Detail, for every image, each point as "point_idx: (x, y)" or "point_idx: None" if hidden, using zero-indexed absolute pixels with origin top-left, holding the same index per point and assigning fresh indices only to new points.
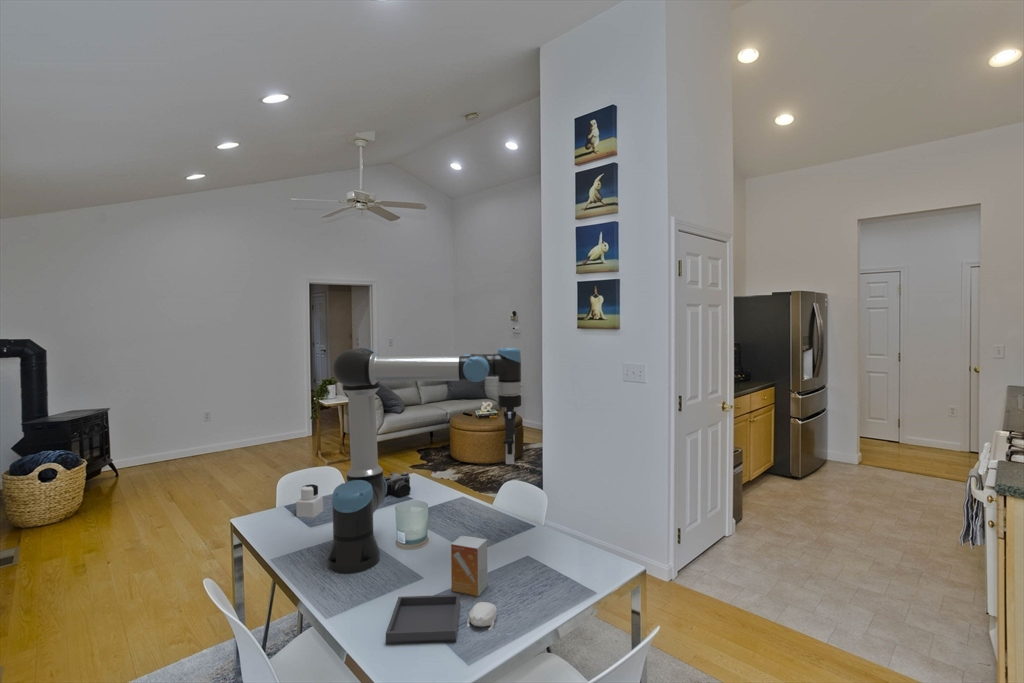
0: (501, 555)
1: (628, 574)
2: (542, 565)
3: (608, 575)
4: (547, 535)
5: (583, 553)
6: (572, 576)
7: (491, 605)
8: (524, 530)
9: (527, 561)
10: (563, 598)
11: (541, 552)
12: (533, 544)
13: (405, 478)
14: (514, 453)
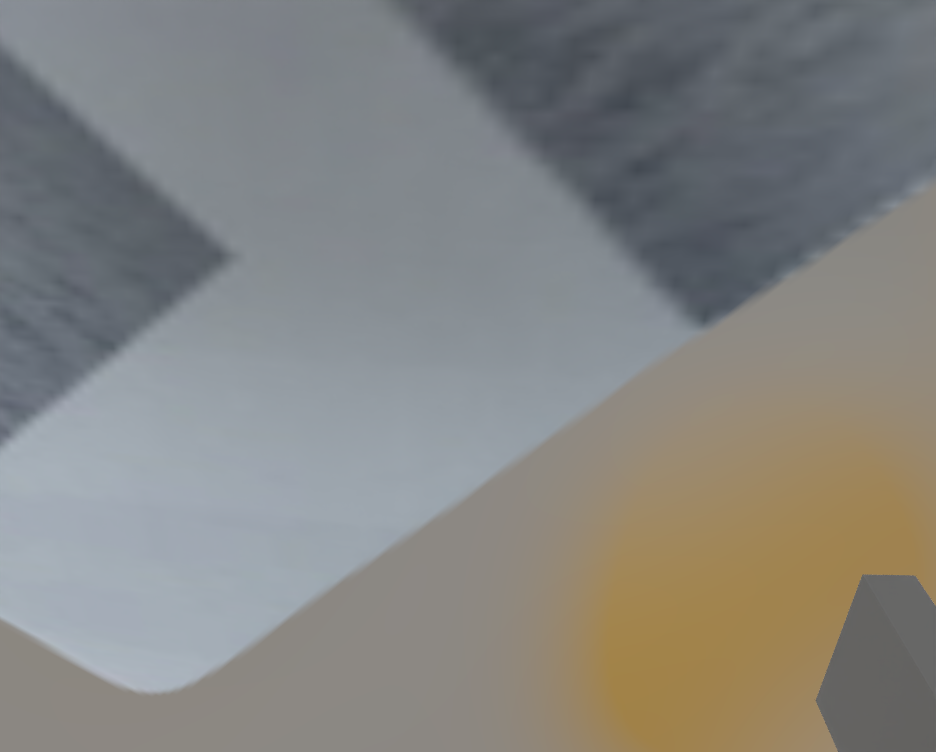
0: (208, 77)
1: (90, 660)
2: (106, 333)
3: (62, 596)
4: (534, 388)
5: (285, 535)
6: (12, 461)
7: None
8: (638, 250)
9: (143, 251)
10: None
11: (280, 338)
12: (397, 298)
13: None
14: (816, 701)
